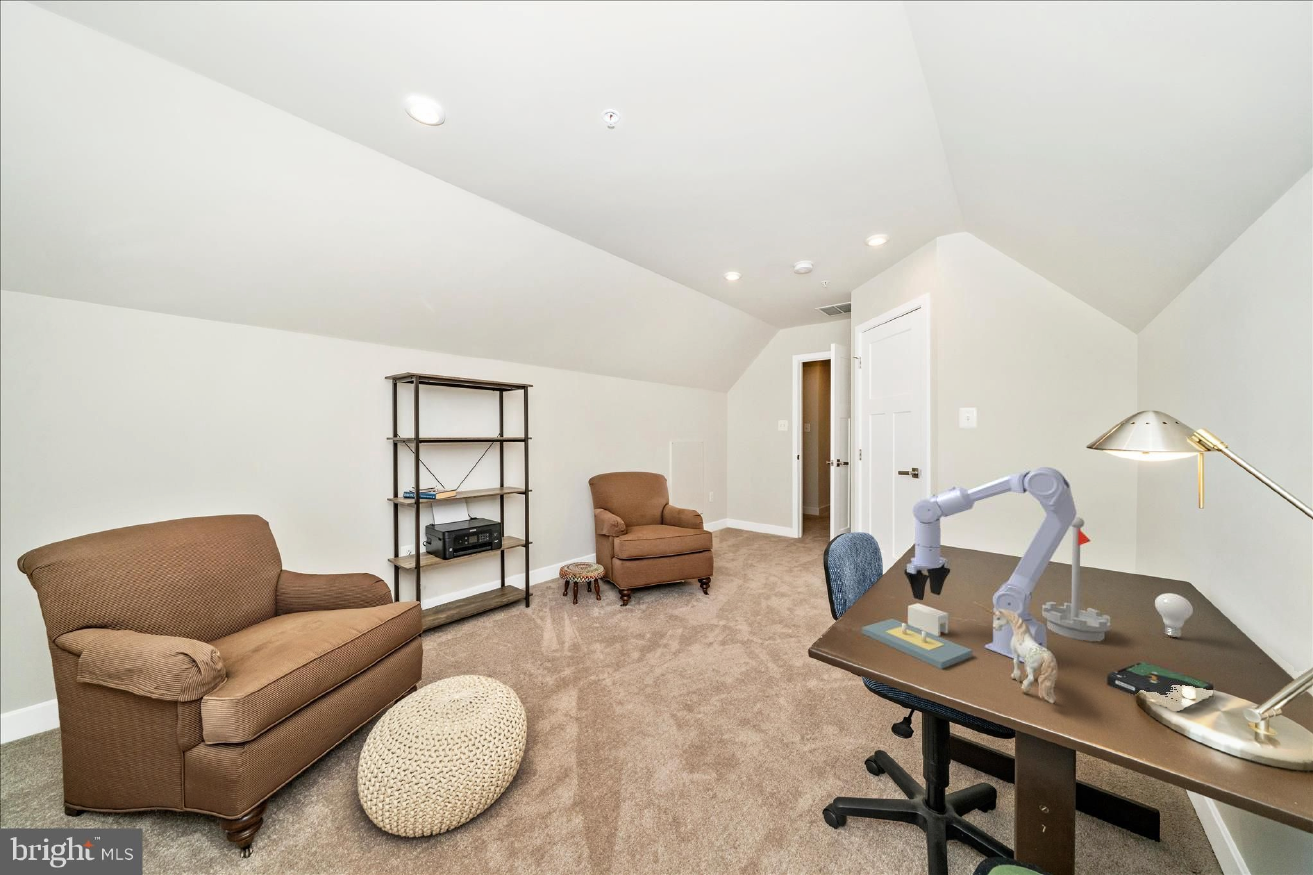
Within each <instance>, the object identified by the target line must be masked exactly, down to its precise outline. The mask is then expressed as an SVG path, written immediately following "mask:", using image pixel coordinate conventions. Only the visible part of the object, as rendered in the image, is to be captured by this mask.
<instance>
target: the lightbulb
mask: <svg viewBox="0 0 1313 875" xmlns="http://www.w3.org/2000/svg"><path fill="white" fill-rule="evenodd" d="M1154 606H1155V609H1156V610H1157V612H1158V613H1159V615H1160V616H1161V618H1162V620H1163V624H1164V629H1165V630H1164V631H1165V632H1164V634H1165V633H1166V634H1165V635H1167V634H1168V635H1173V636H1181V635H1182V631H1181V630H1182V627H1183V626H1184V623H1185V621H1186V620H1188V619H1189V618H1190V617H1191V616H1192V614H1193V612H1194V610H1193V608H1194V607H1193V605H1192V603H1191V602H1190V601H1189V600H1188V599H1186V598H1185V597H1183V596H1182V595H1179V594H1176V593H1171V592H1170V593H1169V592H1167V593H1162V594H1160V595H1158V596H1157V597H1156V598H1155V600H1154ZM1168 635H1167V636H1168ZM1181 637H1182V636H1181Z"/></svg>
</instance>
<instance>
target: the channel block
mask: <svg viewBox="0 0 1313 875" xmlns="http://www.w3.org/2000/svg"><path fill="white" fill-rule="evenodd" d="M907 625H910V626H912V627H915V628H917V629H920V630H922V631H925V632H927V633H930V634H932V635H935V636H937V637H939V636H941V633H944V634H948V633H949V613H947V612H945V611H943V610H942V611H941V610H939V609H936V608H934V607H930V606H927V605H925V604H922V603H918V602H917V603H914V604H910V605H908V606H907Z"/></svg>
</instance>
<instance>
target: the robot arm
mask: <svg viewBox="0 0 1313 875" xmlns="http://www.w3.org/2000/svg"><path fill="white" fill-rule="evenodd" d="M947 490H948V491H945V492H943V493H939V494H937V495H936V494H931V495H930V496H929V498H926V499H921V500H920V501H918V502H917V503H915V504H914V505H913V508H912V513H913V516H914V518H915V526H914V528H915V536H914V542H915V543H914V544H915V546H914V550H915V551H914V557H911V558H910V561H911V562H910V563H907V564H906V569H904V571H903V572H904V575H905V576H906V579H907V581H908V583H909V585H910V588H911V593H912V596H913V598H914V599H916V600H919V601H924V598H925V591H926V585H927V582H929V590H930V594H934V595H937V596H940V595H941V593H942V591H943V588H944V583H945V581H946V579H947V578H948V576H949V575H950V573H951V568H948V567H947V566H948V558H944V557H942V556H941V533H942V532H941V518H942V517H944V518H947V517H950V516H954V515H956V514H959V513H963V512H966V511H969V510H972V509H973V507H974V504H975V502H979V501H982V500H986V499H988V498H992V497H996V496H998V495H1002V494H1006V493H1008V492H1012V493H1016V494H1017V493H1018V494H1025V493H1026V492H1028V493H1029V494H1030V495H1031V496H1032V497H1033V498H1035V499H1036V500H1037V501H1038V503H1039V504H1040V505H1041V507H1042V508H1043V510H1044V512H1045V513H1046V514H1045V516H1044V519H1043V520H1042V522H1041V524H1040V525H1039V527H1038V529H1037V531H1036V533H1035V534H1034V536H1033V538H1032V539H1031V541H1030V543H1029V544H1028V547H1027V549H1026V550H1025V552H1024V554H1023V555H1022V557H1021V559H1020V560H1019V562H1018V564H1017V566H1016V568H1014V569H1015V570H1014V571H1013V573H1012V574H1011V576H1010V578H1009V579H1008V580H1007V581H1005V582H1004V583H1002V584H1001V585H1000V586H999V589H998V591H996V592H995V593H994V595H993V597H992V603H993V606H994V607H993V610H992V611H994V612H997V611H998V609H999V608H1000V609H1005V610H1009V611H1012V612H1015V613H1016V614H1017V615H1018V616H1019V617H1020V618H1021V619H1022V620H1023V621H1025V622H1026V623H1027V625H1028V627H1029V629H1030V632H1031V633H1032V635H1033V637H1034V639H1033V640H1034V641H1035V642H1036V643H1037V644H1038V645H1040V646H1042V647H1044V648H1046V649H1047V638H1048V637H1047V634H1048V631H1047V626H1046V625H1045V624H1044V623H1043V622H1040V621H1039V620H1036V619H1035V618H1034V617H1033V614H1032V613H1031V611H1030V610H1029V608H1028V607H1029V606H1030V604H1031V602H1032V601H1033V595H1032V594H1033V592H1032V591H1033V590H1034V588H1035V586H1036V585H1037V583H1038V581H1039V579H1040V577H1041V576H1042V574H1043V572H1044V571H1045V569H1046V568H1047V566H1048V564H1049V563H1050V561H1051V559H1052V558H1053V556H1054V554H1055V553H1056V551H1057V549H1058V547H1059V546H1060V544H1061V542H1062V541H1063V539H1064V537H1065V536H1066V534H1067V532H1068V530H1069V529H1070V527H1072V526H1071V524H1072V522H1073V520H1074V519H1075V517H1077V508H1076V505H1075V501H1074V497H1073V493H1072V490H1071V485H1070V482H1069V481H1068V480H1067V479H1066V477H1065V476H1064V475H1063V473H1062V472H1060V471H1059V470H1058V469H1056V468H1054V467H1047V466H1044V467H1043V466H1042V467H1038V468H1037V469H1035V470H1027V471H1022V472H1018V473H1012V474H1009V475H1006V476H1003V477H1001V478H998V479H995V480H993V481H990V482H986V483H984V484H981V485H979V486H977V487H974V488H971V489H966V488H964V487H957V488H956V487H955V486H953V487H950V488H948V489H947ZM923 571H926V572H927V574H925V573H924V572H923ZM928 580H929V581H928ZM992 616H993V622H994V620H995V615H993V614H992ZM993 622H992V623H993ZM1001 629H1002V630H1001V631H995V629H994V628H993V627H992V642H989V643H988V644H985V645H984V649H985V648H986V649H988V650H991V651H993V652H995V653H998V654H1000V655H1003V656H1005V657H1009V658H1011V659H1013V660H1014V656H1013V653H1012V649H1011V640H1012V637H1013V636H1014V632H1013V629H1012V627H1011V626H1010V625H1009V624H1008V625H1005V626H1003V627H1002V628H1001ZM1019 661H1020V663H1021V662H1022V663H1024V659H1023V658H1022V657H1021V656H1020V657H1019Z"/></svg>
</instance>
